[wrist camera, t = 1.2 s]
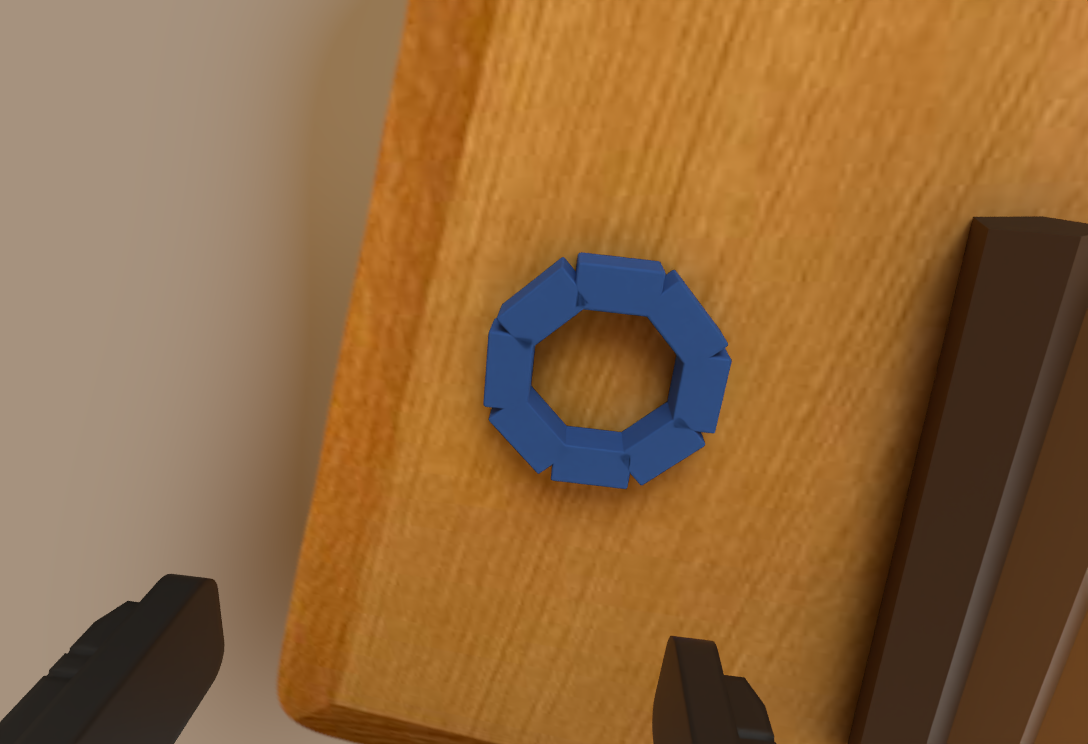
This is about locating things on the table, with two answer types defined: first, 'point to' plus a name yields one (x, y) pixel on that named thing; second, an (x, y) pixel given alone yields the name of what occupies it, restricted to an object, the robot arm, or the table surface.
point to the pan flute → (995, 512)
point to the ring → (593, 450)
